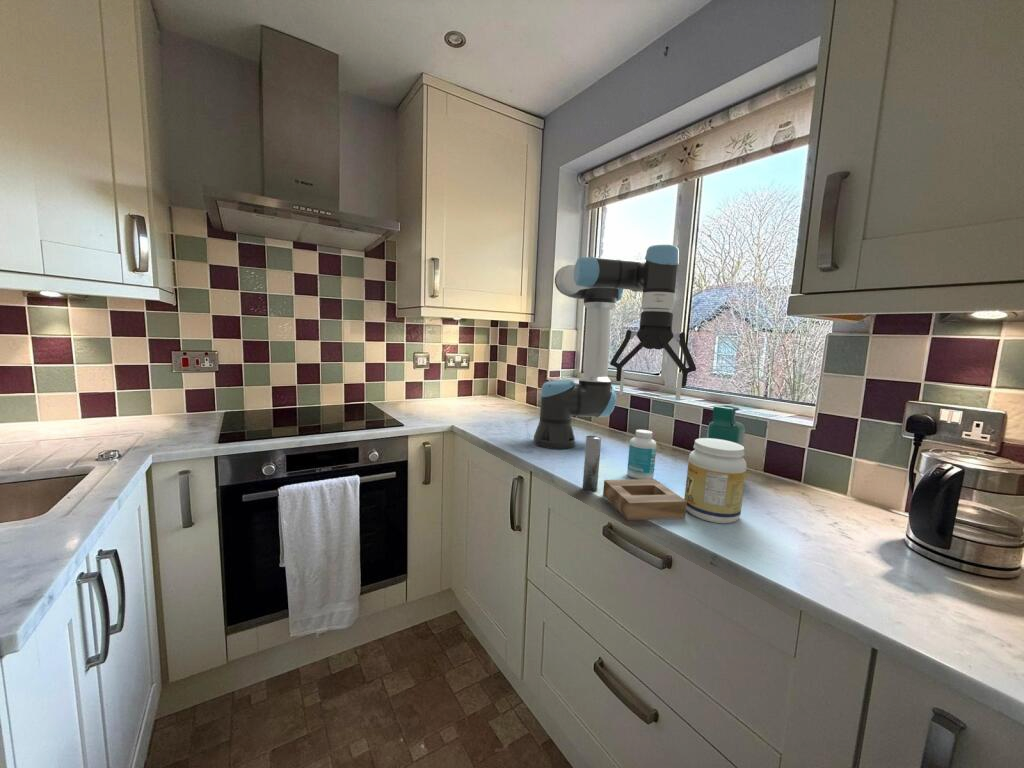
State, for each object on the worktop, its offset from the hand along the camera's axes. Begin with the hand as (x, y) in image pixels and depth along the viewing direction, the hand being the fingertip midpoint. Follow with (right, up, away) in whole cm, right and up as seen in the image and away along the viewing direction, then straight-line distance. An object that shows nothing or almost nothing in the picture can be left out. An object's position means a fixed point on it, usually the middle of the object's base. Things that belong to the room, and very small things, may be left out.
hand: (648, 396), depth 104 cm
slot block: (-3, -26, -4) cm, 27 cm away
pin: (-14, -24, +5) cm, 29 cm away
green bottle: (+27, -25, +18) cm, 41 cm away
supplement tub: (+12, -27, -7) cm, 31 cm away
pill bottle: (+3, -24, +17) cm, 30 cm away
